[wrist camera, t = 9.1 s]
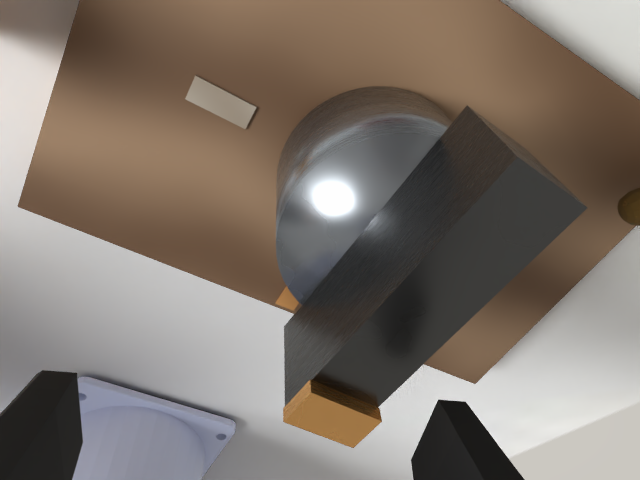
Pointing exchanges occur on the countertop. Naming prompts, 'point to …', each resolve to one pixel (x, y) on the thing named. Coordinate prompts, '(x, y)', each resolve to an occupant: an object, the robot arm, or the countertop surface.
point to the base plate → (290, 108)
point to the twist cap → (396, 244)
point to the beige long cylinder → (630, 207)
